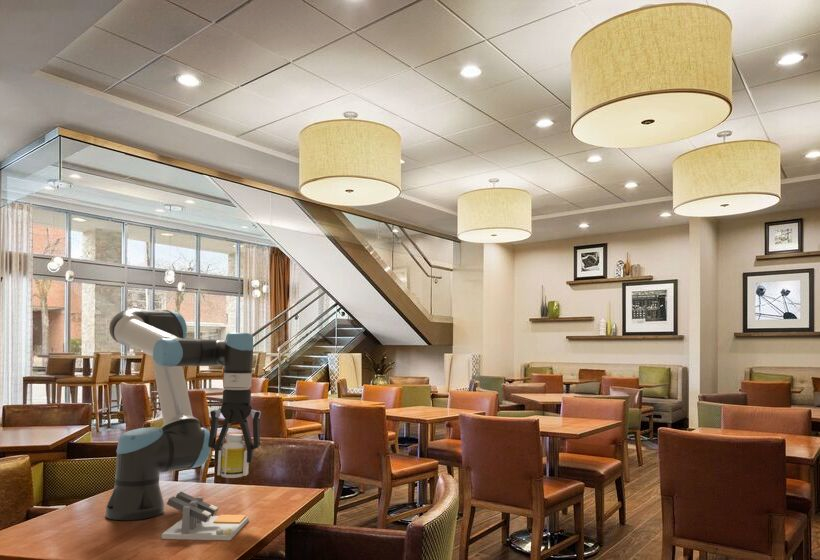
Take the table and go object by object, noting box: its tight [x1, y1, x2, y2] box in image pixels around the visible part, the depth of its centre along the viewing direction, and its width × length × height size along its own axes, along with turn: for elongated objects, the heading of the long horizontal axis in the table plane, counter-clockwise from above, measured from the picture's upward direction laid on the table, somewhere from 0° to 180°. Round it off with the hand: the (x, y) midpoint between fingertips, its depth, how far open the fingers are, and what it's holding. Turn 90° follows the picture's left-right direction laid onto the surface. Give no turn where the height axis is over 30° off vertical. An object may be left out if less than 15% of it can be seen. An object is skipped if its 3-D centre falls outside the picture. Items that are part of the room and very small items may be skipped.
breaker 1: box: [166, 496, 212, 523], centre depth 155 cm, size 11×3×2 cm, turn 88°
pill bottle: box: [220, 433, 247, 479], centre depth 167 cm, size 6×6×11 cm
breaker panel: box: [161, 496, 250, 541], centre depth 160 cm, size 17×18×8 cm
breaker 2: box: [175, 491, 219, 516], centre depth 160 cm, size 11×3×2 cm, turn 88°
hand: (232, 474), depth 166 cm, fingers closed on pill bottle, 6 cm apart
